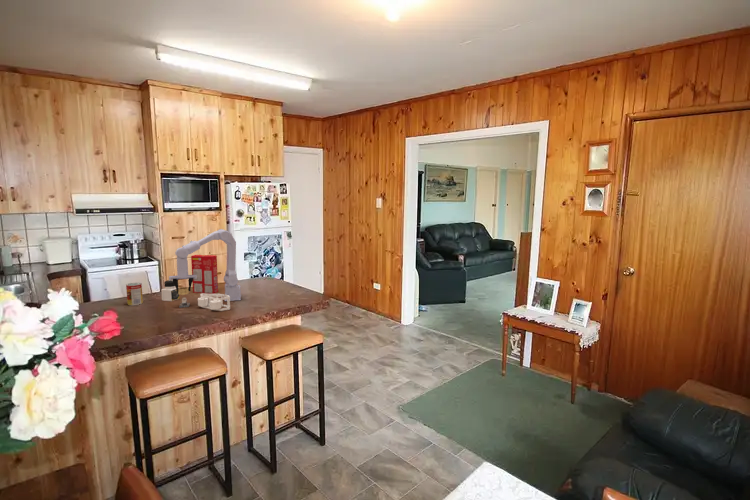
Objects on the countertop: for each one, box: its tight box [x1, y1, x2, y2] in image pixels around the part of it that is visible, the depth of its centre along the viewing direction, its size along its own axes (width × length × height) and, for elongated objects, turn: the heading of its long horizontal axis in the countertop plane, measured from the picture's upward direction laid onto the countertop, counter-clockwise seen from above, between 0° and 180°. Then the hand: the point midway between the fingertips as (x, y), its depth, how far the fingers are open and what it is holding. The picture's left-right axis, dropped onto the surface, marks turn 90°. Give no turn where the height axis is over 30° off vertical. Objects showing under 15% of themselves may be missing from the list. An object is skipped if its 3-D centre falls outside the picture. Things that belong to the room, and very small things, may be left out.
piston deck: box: [178, 296, 191, 309], centre depth 236 cm, size 5×6×5 cm
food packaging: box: [190, 254, 219, 294], centre depth 266 cm, size 15×5×25 cm, turn 84°
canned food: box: [125, 282, 144, 306], centre depth 239 cm, size 8×8×12 cm
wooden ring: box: [178, 286, 190, 296], centre depth 235 cm, size 6×6×3 cm
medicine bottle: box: [161, 279, 180, 302], centre depth 249 cm, size 7×7×12 cm
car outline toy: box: [197, 293, 231, 312], centre depth 233 cm, size 20×11×7 cm, turn 60°
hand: (183, 291), depth 235 cm, fingers closed on wooden ring, 6 cm apart
